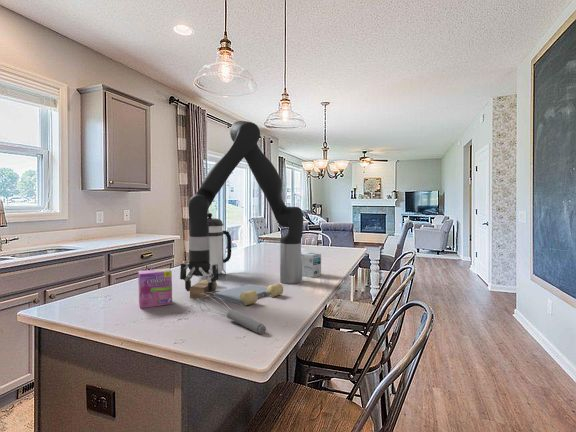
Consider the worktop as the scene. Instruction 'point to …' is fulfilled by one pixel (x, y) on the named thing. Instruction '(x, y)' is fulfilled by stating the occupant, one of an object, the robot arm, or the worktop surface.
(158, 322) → the worktop surface
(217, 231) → the coffee press
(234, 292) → the grey flat piece
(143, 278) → the box
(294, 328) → the worktop surface
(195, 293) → the tan wooden beam
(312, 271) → the light bulb box
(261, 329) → the kitchen whisk
